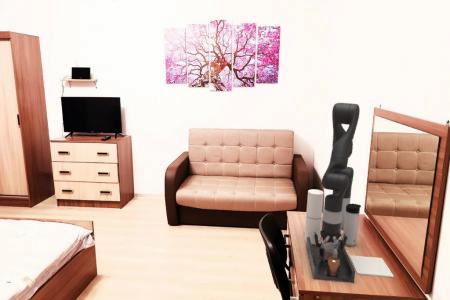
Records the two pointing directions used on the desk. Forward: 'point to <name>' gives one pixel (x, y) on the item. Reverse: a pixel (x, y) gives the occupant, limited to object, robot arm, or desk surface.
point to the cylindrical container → (313, 214)
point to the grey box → (329, 250)
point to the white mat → (370, 266)
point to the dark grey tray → (330, 264)
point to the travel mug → (351, 223)
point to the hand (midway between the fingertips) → (328, 255)
